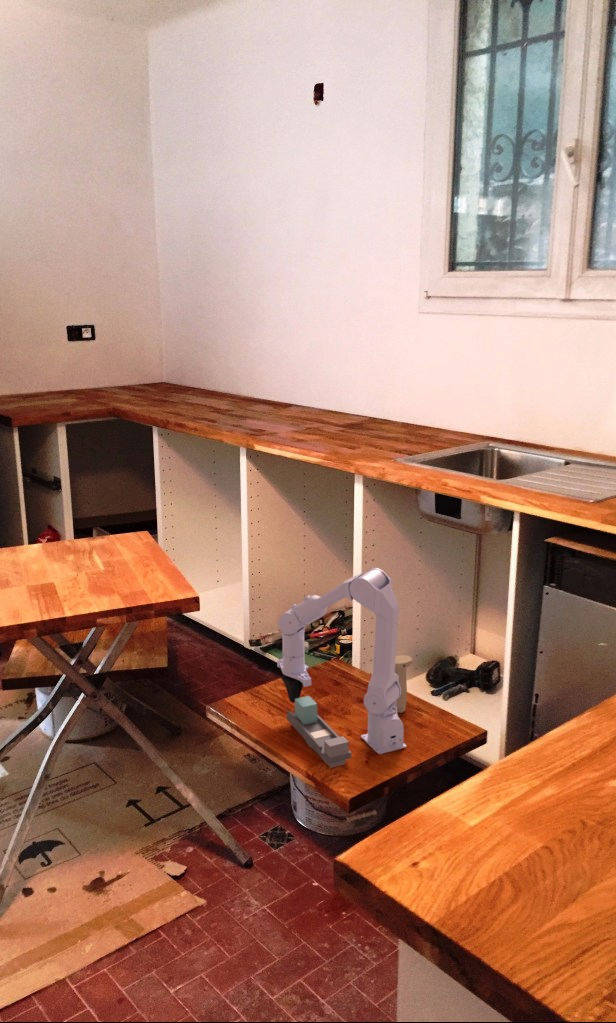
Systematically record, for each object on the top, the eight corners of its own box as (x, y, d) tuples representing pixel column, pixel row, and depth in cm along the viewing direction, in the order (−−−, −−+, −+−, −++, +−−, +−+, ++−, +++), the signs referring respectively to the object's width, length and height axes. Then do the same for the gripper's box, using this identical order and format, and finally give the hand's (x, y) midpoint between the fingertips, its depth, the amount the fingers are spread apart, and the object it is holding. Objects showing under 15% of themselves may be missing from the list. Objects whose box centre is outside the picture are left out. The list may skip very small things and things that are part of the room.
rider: (317, 721, 217) (317, 703, 216) (302, 725, 216) (302, 707, 214) (309, 713, 222) (308, 695, 220) (295, 716, 220) (294, 698, 219)
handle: (384, 709, 230) (385, 657, 227) (405, 704, 233) (406, 653, 229) (392, 717, 226) (393, 664, 222) (413, 712, 228) (415, 660, 224)
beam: (351, 763, 204) (351, 741, 202) (327, 769, 201) (327, 747, 200) (309, 719, 225) (309, 698, 224) (287, 724, 222) (286, 703, 221)
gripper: (321, 659, 217) (321, 708, 221) (293, 640, 229) (293, 686, 233) (297, 666, 214) (298, 715, 217) (270, 646, 226) (271, 693, 229)
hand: (294, 701), depth 225 cm, fingers closed
